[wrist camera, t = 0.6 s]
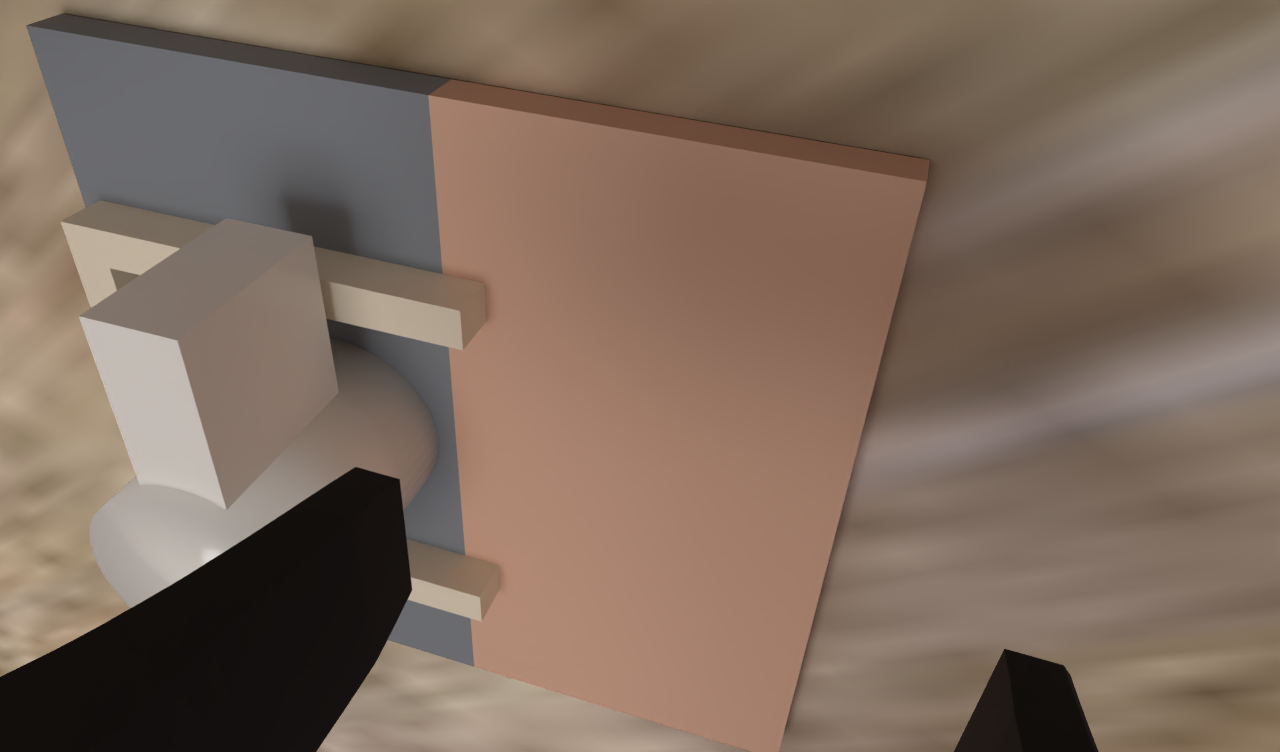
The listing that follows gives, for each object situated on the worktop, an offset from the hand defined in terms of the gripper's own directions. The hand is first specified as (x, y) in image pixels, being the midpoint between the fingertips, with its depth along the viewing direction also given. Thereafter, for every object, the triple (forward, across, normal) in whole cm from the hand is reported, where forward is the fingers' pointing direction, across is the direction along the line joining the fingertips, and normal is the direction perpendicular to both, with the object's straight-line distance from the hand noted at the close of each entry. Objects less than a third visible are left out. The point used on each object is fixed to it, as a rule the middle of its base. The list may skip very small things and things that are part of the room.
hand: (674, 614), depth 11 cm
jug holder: (+10, +7, +7) cm, 14 cm away
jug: (+9, +10, +6) cm, 15 cm away
